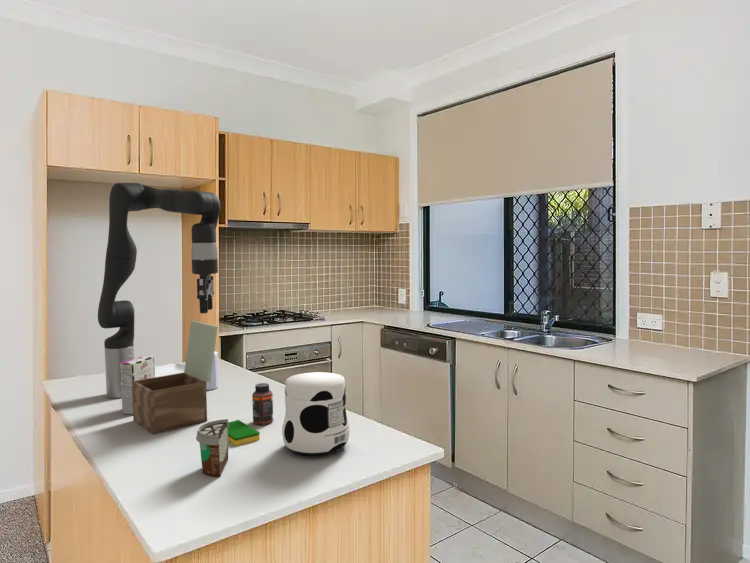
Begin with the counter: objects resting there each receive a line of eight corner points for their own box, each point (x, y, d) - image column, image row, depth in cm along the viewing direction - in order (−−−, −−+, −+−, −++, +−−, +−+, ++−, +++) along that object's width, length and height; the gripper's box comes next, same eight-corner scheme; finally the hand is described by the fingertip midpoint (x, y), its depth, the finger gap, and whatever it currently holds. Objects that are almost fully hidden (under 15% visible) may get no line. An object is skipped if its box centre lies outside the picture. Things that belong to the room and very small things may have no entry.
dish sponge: (235, 447, 140) (235, 438, 140) (215, 433, 151) (215, 424, 151) (260, 441, 145) (260, 432, 145) (239, 427, 156) (238, 419, 156)
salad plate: (209, 376, 216) (209, 368, 216) (164, 388, 198) (164, 379, 198) (175, 370, 227) (175, 362, 227) (129, 381, 209) (129, 372, 209)
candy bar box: (143, 404, 178) (141, 355, 177) (156, 404, 177) (155, 355, 176) (121, 414, 167) (118, 362, 166) (135, 415, 166) (133, 363, 165)
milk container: (289, 435, 148) (288, 371, 147) (352, 435, 147) (351, 371, 146) (276, 460, 131) (274, 388, 129) (346, 461, 130) (346, 388, 129)
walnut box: (133, 420, 161) (131, 381, 160) (185, 409, 172) (184, 372, 171) (152, 434, 149) (150, 392, 149) (207, 421, 160) (205, 381, 159)
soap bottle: (224, 386, 199) (223, 332, 197) (207, 392, 192) (205, 335, 190) (200, 382, 206) (199, 329, 204) (183, 386, 199) (181, 332, 198)
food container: (204, 459, 132) (202, 419, 131) (229, 458, 133) (228, 418, 132) (191, 481, 120) (189, 437, 119) (219, 479, 120) (218, 436, 120)
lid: (191, 320, 172) (194, 320, 173) (184, 372, 171) (187, 372, 172) (214, 326, 160) (217, 326, 160) (206, 382, 159) (210, 382, 160)
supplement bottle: (277, 420, 160) (276, 383, 160) (265, 426, 155) (264, 388, 154) (261, 417, 163) (260, 381, 162) (248, 423, 158) (247, 385, 157)
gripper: (196, 257, 168) (198, 309, 170) (186, 258, 154) (188, 314, 156) (220, 257, 169) (222, 308, 171) (213, 258, 155) (215, 314, 157)
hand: (206, 311), depth 163 cm, fingers open, 8 cm apart
